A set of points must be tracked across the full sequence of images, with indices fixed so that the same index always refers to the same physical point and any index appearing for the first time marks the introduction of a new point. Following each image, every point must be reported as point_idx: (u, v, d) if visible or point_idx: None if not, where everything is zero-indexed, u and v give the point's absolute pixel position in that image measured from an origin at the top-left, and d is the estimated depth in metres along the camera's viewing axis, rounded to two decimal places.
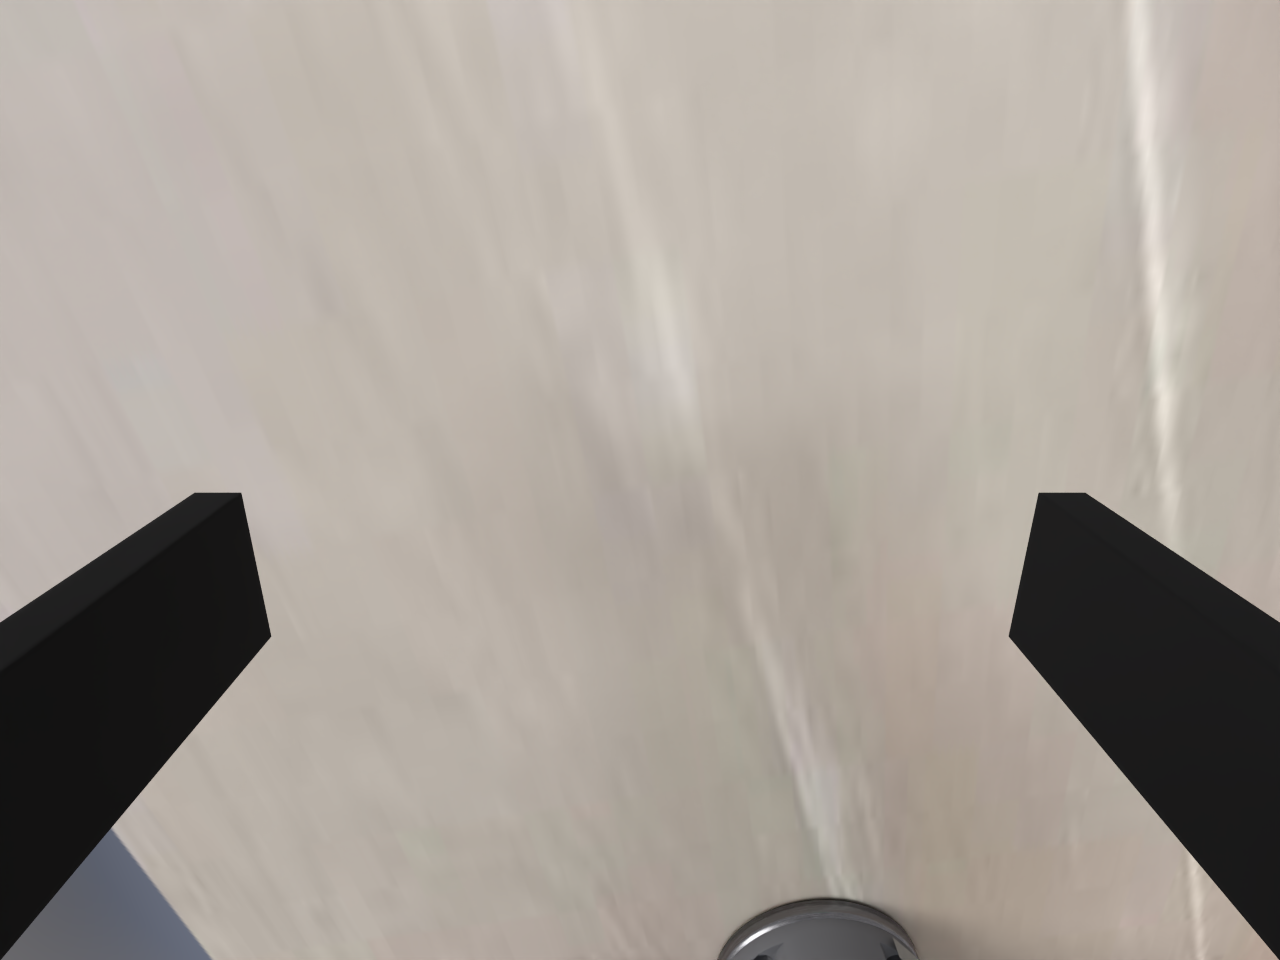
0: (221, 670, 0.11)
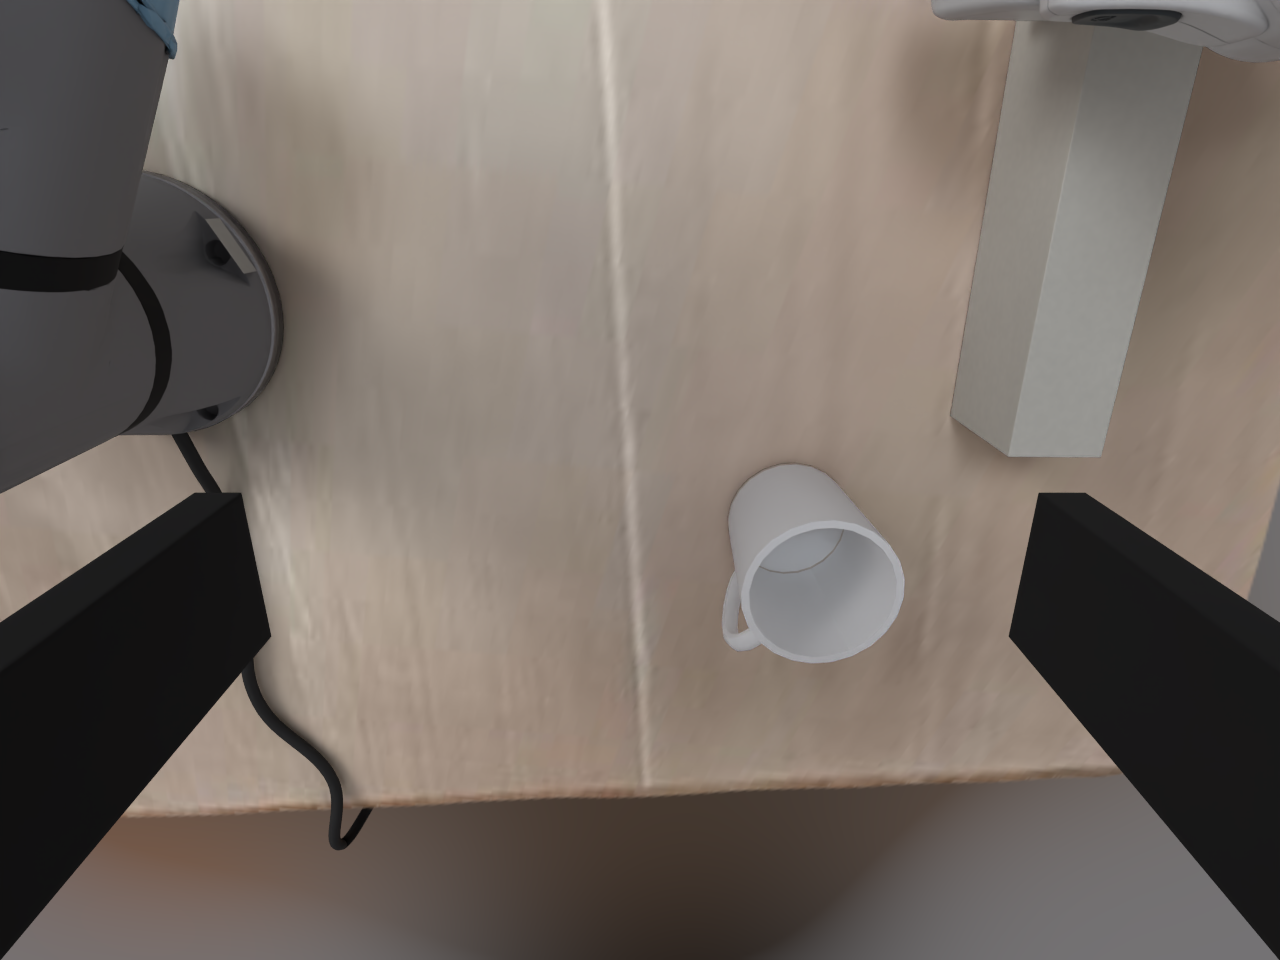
0: (222, 669, 0.11)
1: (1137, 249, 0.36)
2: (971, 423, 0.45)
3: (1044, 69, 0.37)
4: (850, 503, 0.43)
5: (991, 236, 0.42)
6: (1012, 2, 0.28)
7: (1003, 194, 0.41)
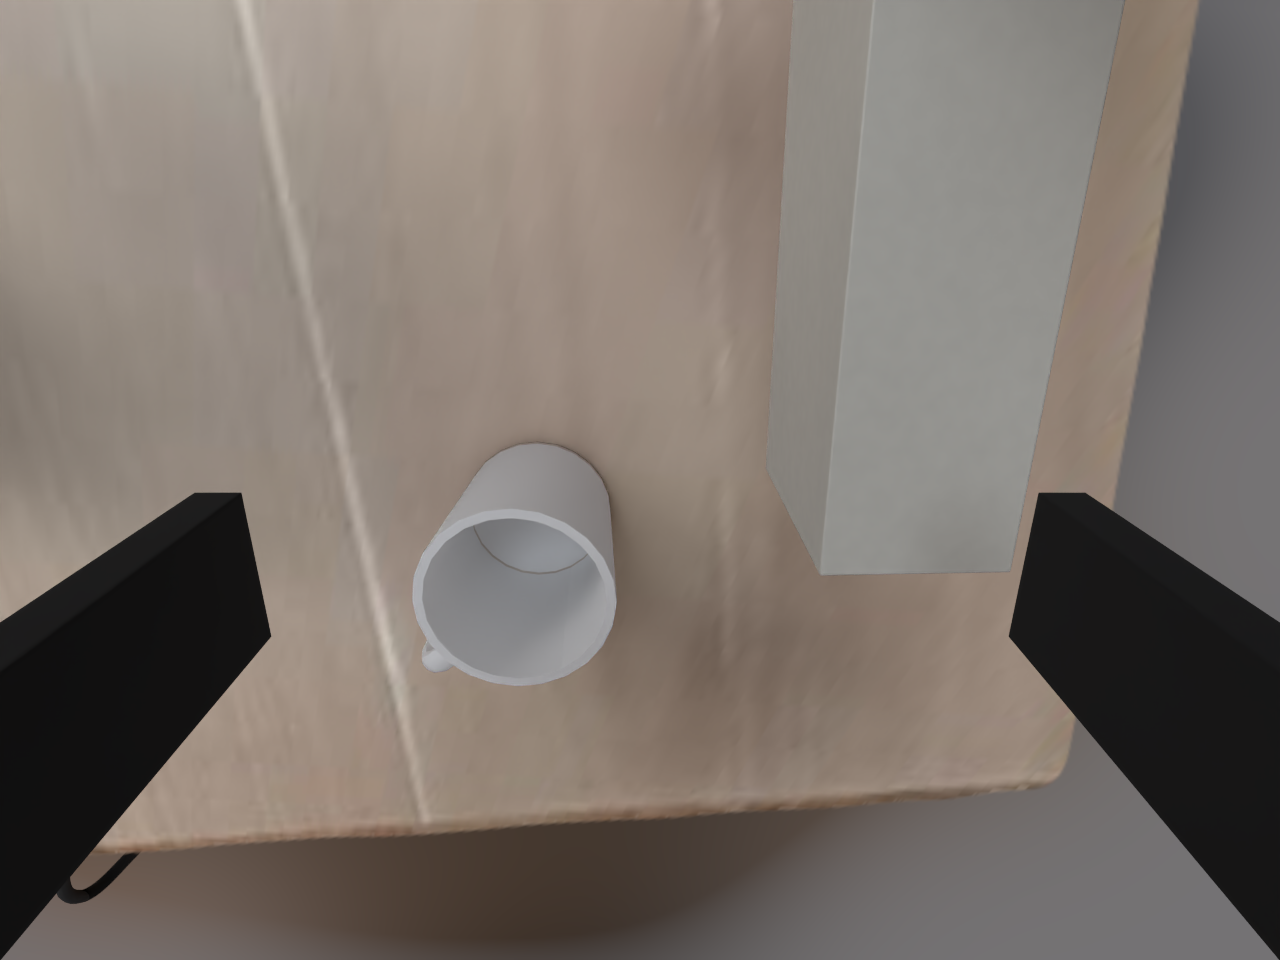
0: (221, 669, 0.11)
1: (1066, 119, 0.16)
2: (783, 489, 0.24)
3: None
4: (569, 488, 0.35)
5: (795, 130, 0.21)
6: None
7: (805, 37, 0.20)
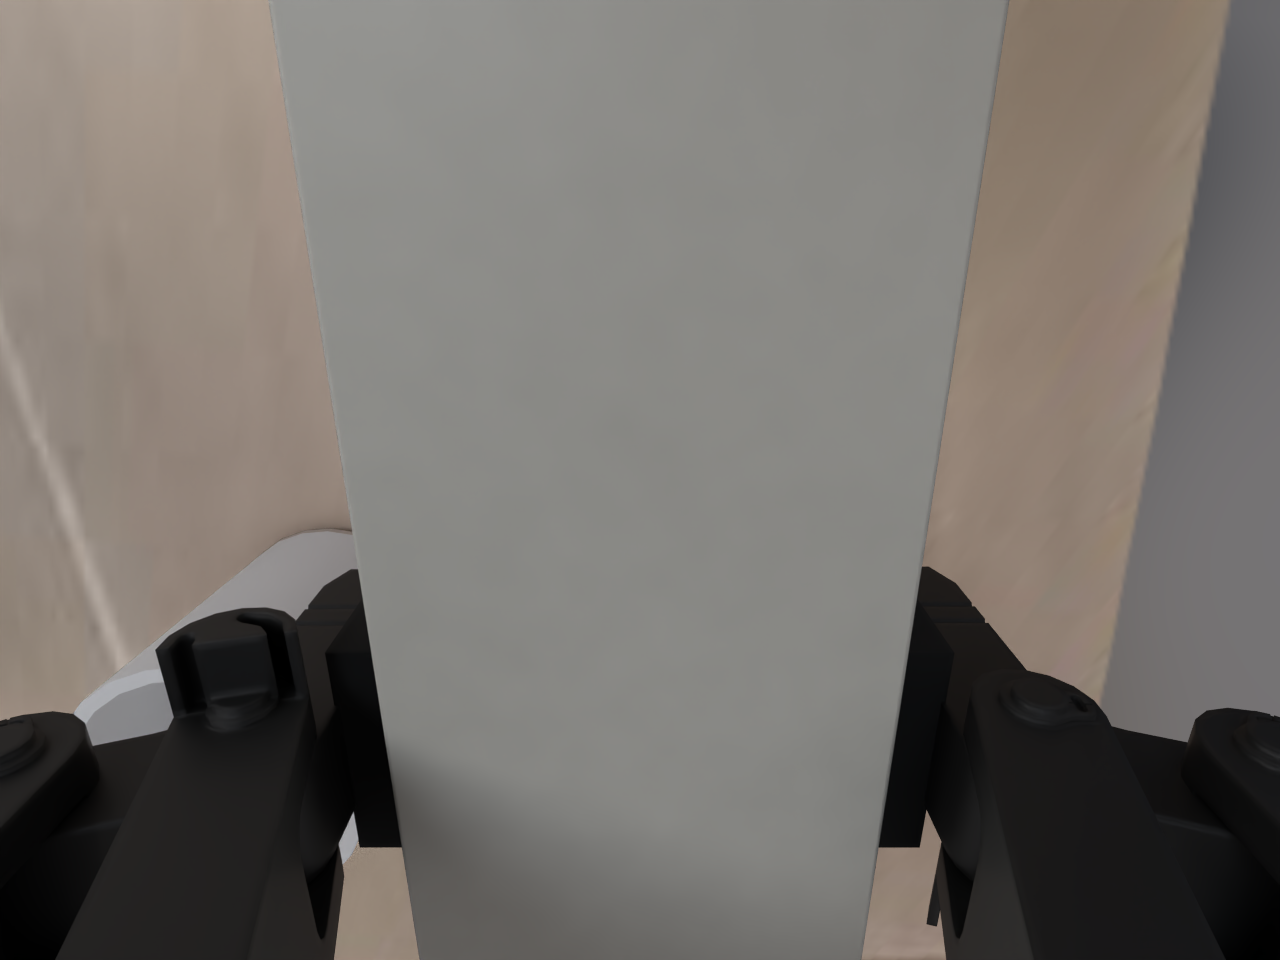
0: None
1: None
2: None
3: None
4: None
5: None
6: None
7: None
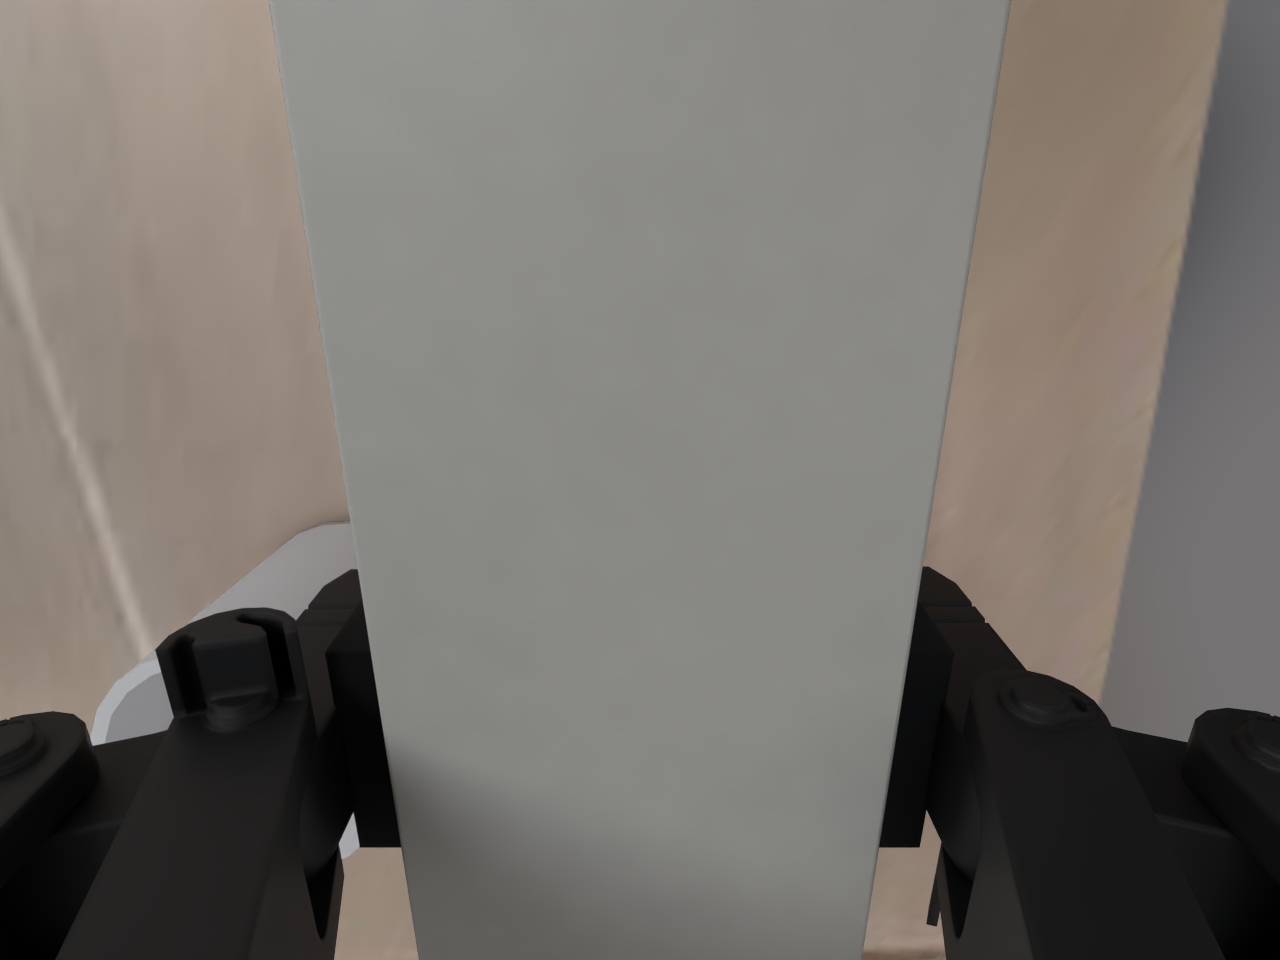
0: None
1: None
2: None
3: None
4: None
5: None
6: None
7: None
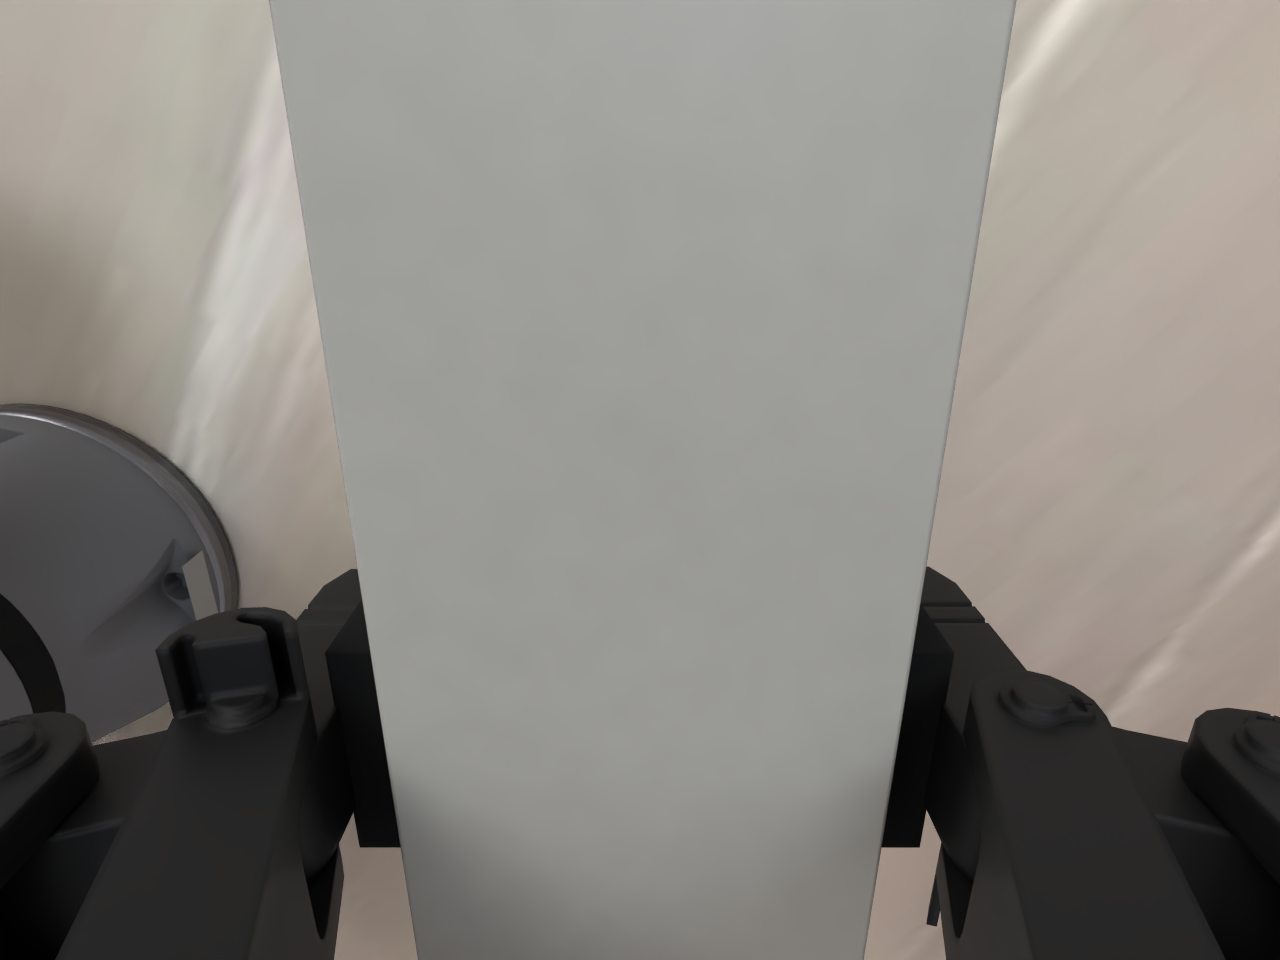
0: None
1: None
2: None
3: None
4: None
5: None
6: None
7: None
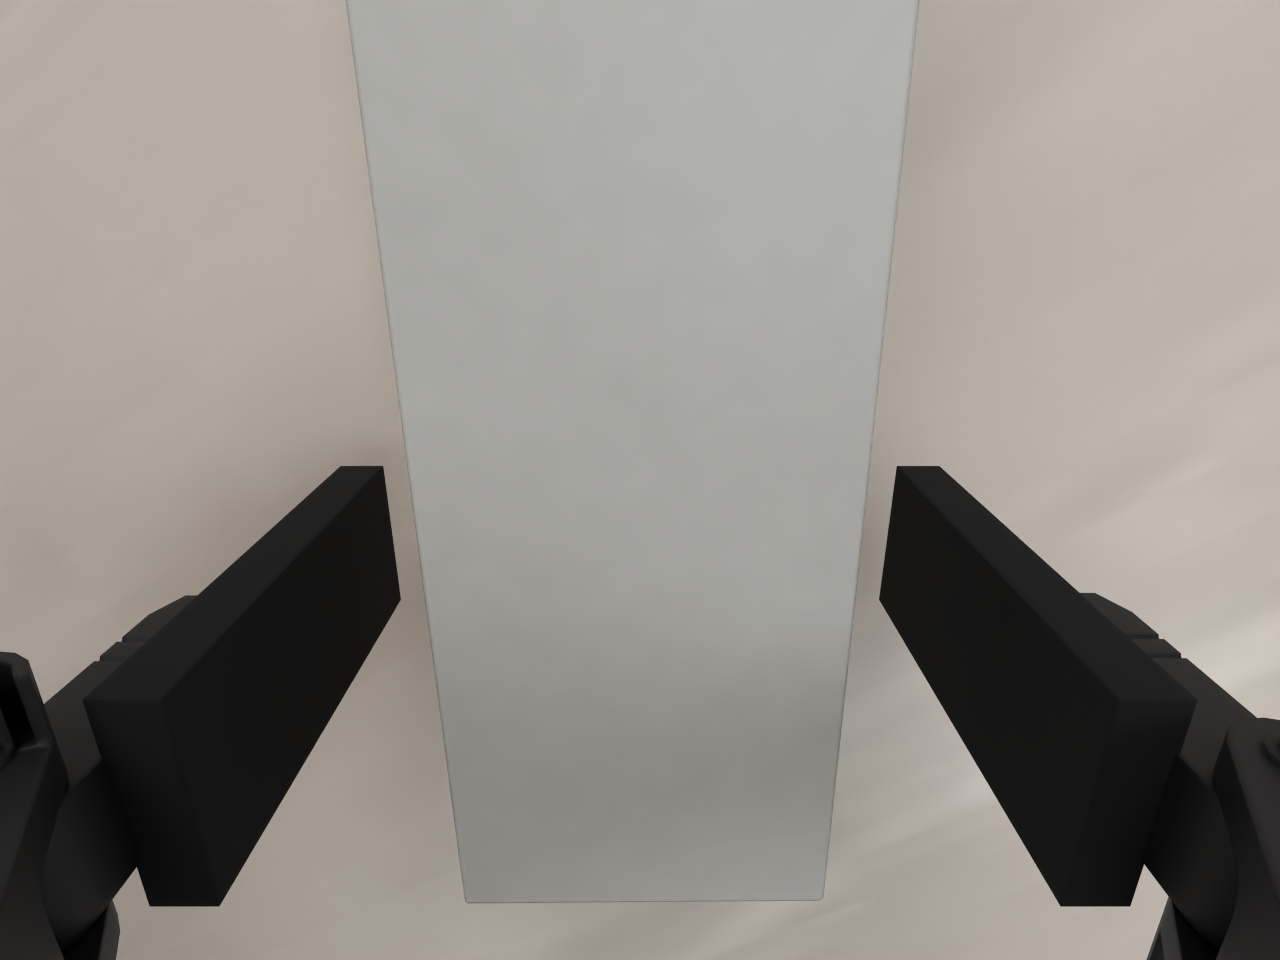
0: (371, 625, 0.13)
1: (833, 15, 0.07)
2: None
3: None
4: None
5: None
6: None
7: None
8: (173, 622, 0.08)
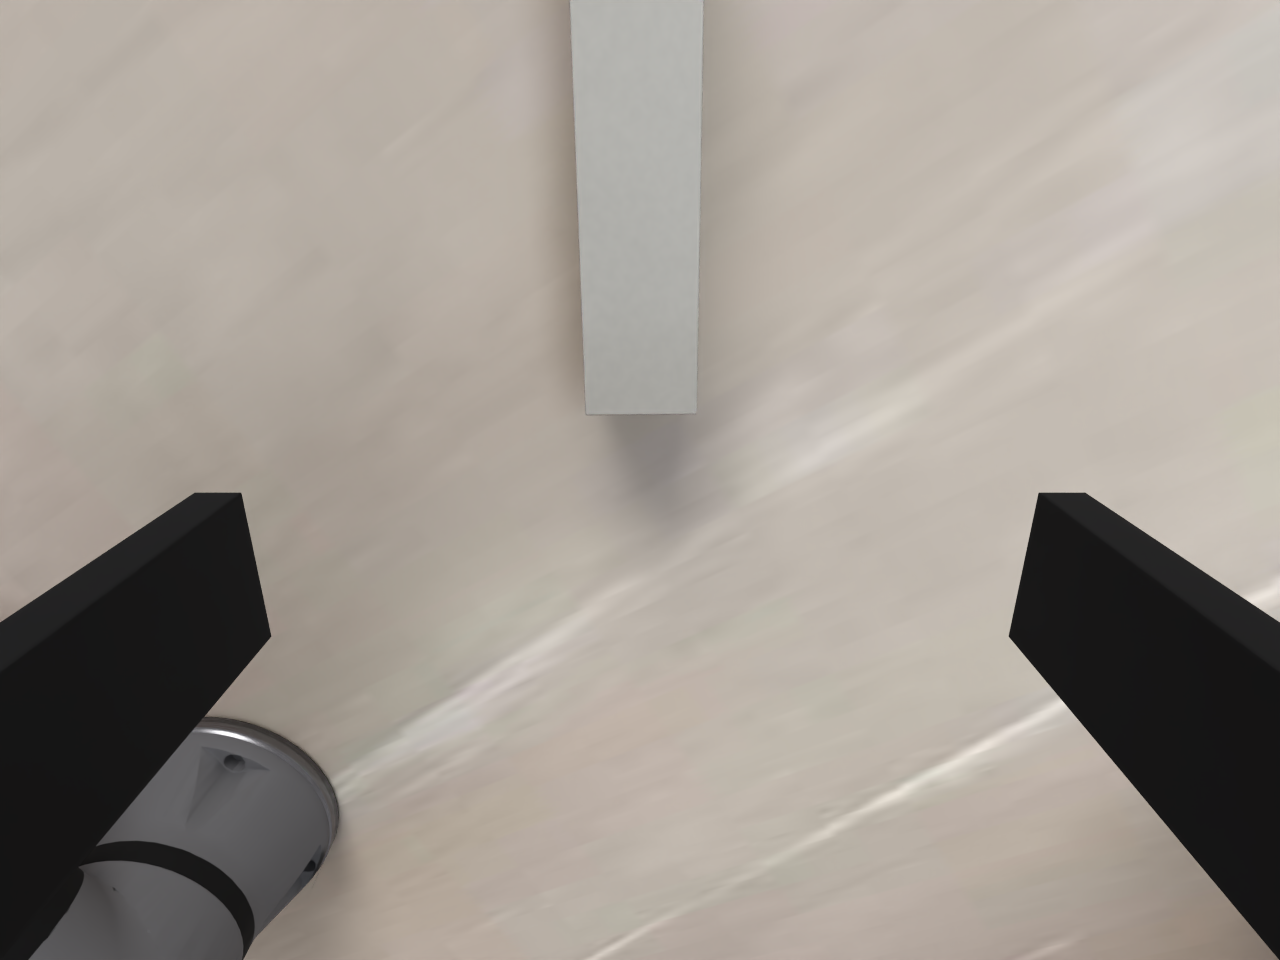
0: (222, 669, 0.11)
1: (682, 156, 0.30)
2: None
3: None
4: None
5: None
6: None
7: None
8: None
